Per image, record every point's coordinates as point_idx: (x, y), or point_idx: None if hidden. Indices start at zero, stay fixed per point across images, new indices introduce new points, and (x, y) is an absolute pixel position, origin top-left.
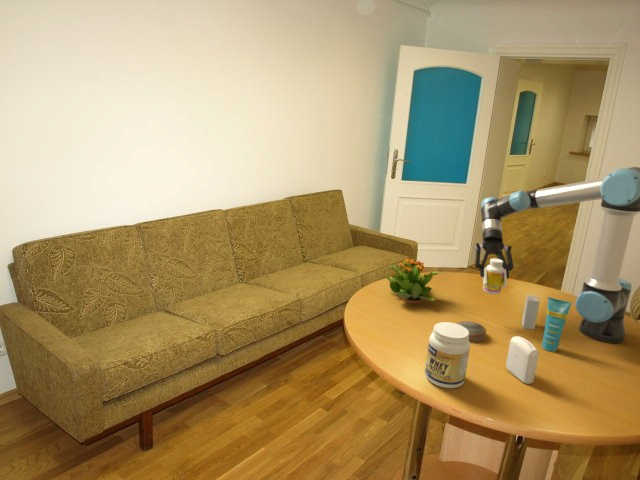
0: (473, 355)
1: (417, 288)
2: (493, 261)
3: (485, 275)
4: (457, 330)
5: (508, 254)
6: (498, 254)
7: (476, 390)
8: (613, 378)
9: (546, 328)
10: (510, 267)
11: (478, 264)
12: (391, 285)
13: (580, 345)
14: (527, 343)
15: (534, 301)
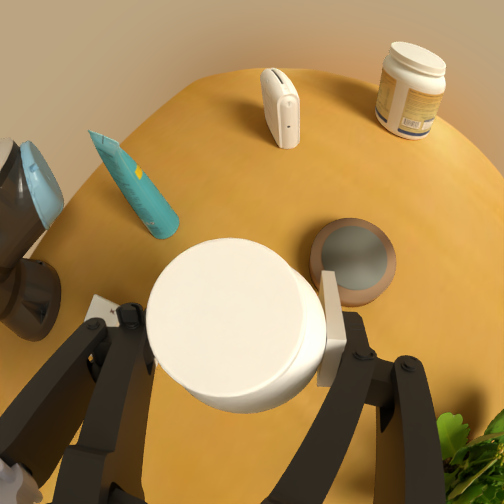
0: (354, 176)
1: (491, 436)
2: (283, 260)
3: (334, 297)
4: (409, 50)
5: (30, 412)
6: (122, 476)
7: (357, 103)
8: (129, 154)
9: (159, 194)
10: (105, 327)
11: (404, 360)
12: None
13: (95, 249)
14: (277, 70)
15: (106, 300)
